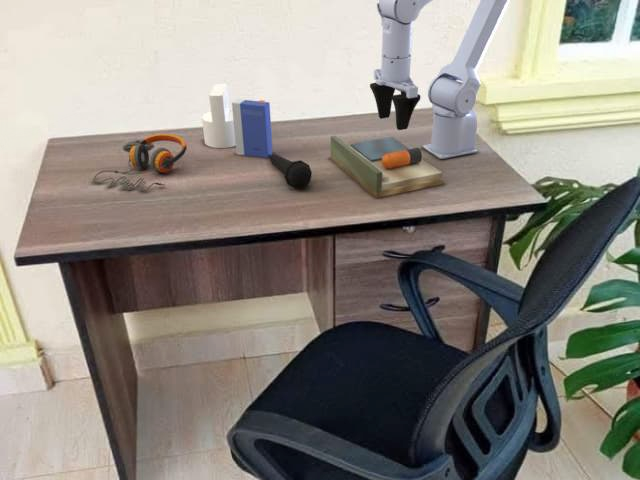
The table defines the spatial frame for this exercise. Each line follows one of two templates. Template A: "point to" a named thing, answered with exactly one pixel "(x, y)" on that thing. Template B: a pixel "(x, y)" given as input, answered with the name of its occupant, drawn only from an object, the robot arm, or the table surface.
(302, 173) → the microphone
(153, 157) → the headphones
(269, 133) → the walkman
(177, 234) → the table surface
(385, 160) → the orange capsule container
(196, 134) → the table surface
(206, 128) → the base with upright slab
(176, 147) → the table surface
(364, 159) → the bed
